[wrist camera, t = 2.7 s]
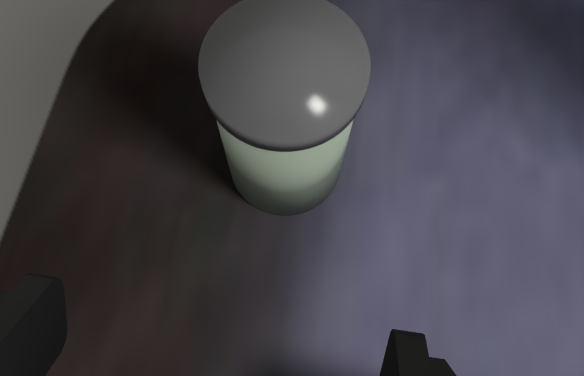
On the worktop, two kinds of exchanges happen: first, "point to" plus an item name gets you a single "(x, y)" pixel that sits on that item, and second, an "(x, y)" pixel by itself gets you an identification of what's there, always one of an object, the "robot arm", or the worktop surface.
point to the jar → (284, 97)
